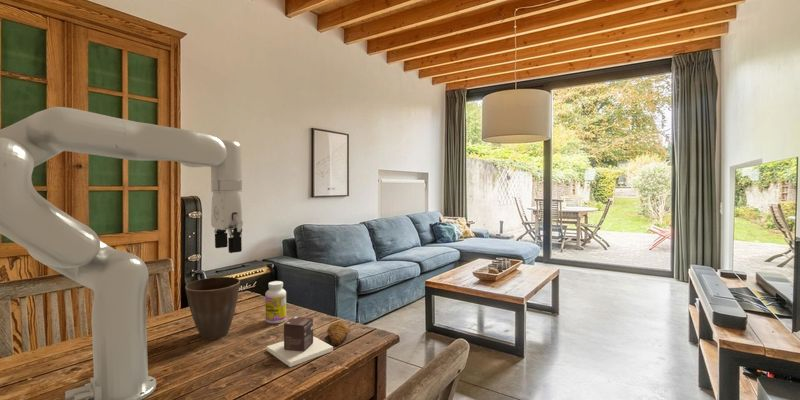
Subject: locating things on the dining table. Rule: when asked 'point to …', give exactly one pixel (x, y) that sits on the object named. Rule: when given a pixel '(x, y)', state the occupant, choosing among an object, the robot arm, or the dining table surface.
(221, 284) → the plant pot
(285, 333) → the box
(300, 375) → the dining table surface
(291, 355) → the tile
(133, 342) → the robot arm
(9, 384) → the dining table surface
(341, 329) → the croissant
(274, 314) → the supplement bottle
